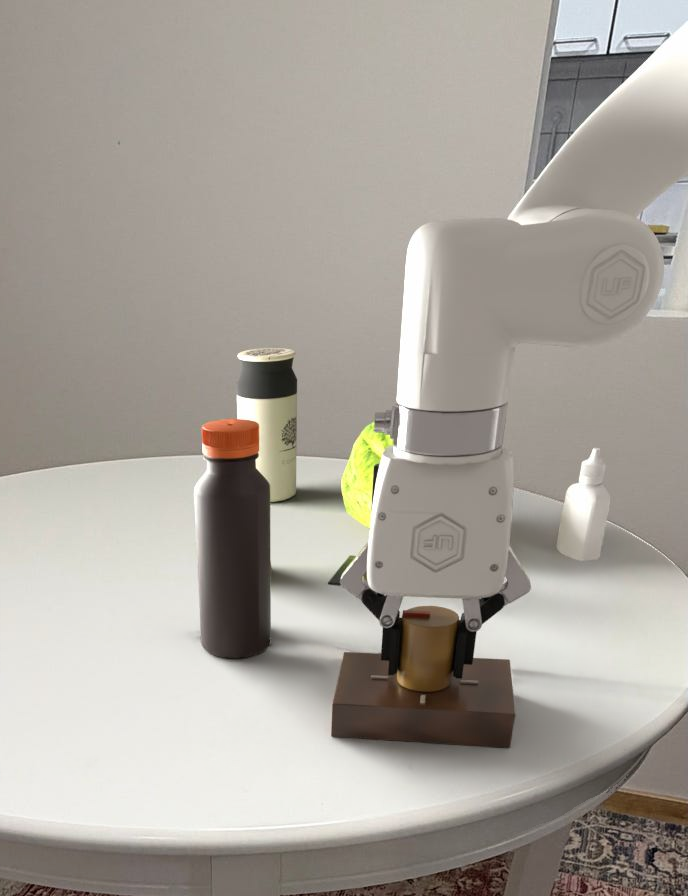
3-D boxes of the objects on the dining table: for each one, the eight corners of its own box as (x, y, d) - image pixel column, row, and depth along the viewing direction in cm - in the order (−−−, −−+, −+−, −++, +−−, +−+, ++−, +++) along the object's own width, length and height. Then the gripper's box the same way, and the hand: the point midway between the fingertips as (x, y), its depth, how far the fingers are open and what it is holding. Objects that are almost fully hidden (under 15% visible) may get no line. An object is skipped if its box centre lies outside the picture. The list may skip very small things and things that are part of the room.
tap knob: (451, 669, 79) (459, 602, 76) (451, 693, 76) (459, 624, 72) (398, 667, 80) (403, 600, 77) (395, 690, 77) (400, 622, 73)
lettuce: (410, 594, 104) (455, 467, 96) (315, 506, 121) (346, 391, 112) (517, 597, 110) (568, 478, 102) (413, 513, 127) (449, 405, 118)
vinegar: (191, 639, 94) (179, 422, 83) (253, 626, 96) (250, 412, 84) (217, 665, 89) (208, 437, 77) (282, 651, 91) (283, 427, 79)
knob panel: (505, 691, 82) (510, 657, 80) (510, 748, 74) (515, 712, 73) (342, 682, 85) (344, 649, 83) (330, 736, 77) (332, 701, 75)
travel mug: (227, 496, 134) (223, 354, 124) (267, 484, 138) (266, 345, 128) (268, 507, 129) (267, 359, 119) (307, 494, 133) (310, 350, 123)
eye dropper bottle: (556, 568, 106) (576, 454, 99) (554, 552, 110) (573, 441, 103) (598, 570, 105) (621, 455, 98) (594, 553, 109) (616, 442, 102)
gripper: (322, 442, 65) (316, 684, 76) (581, 443, 62) (536, 696, 73) (333, 418, 71) (326, 646, 82) (570, 418, 68) (530, 655, 79)
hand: (425, 667), depth 77 cm, fingers closed on tap knob, 4 cm apart
